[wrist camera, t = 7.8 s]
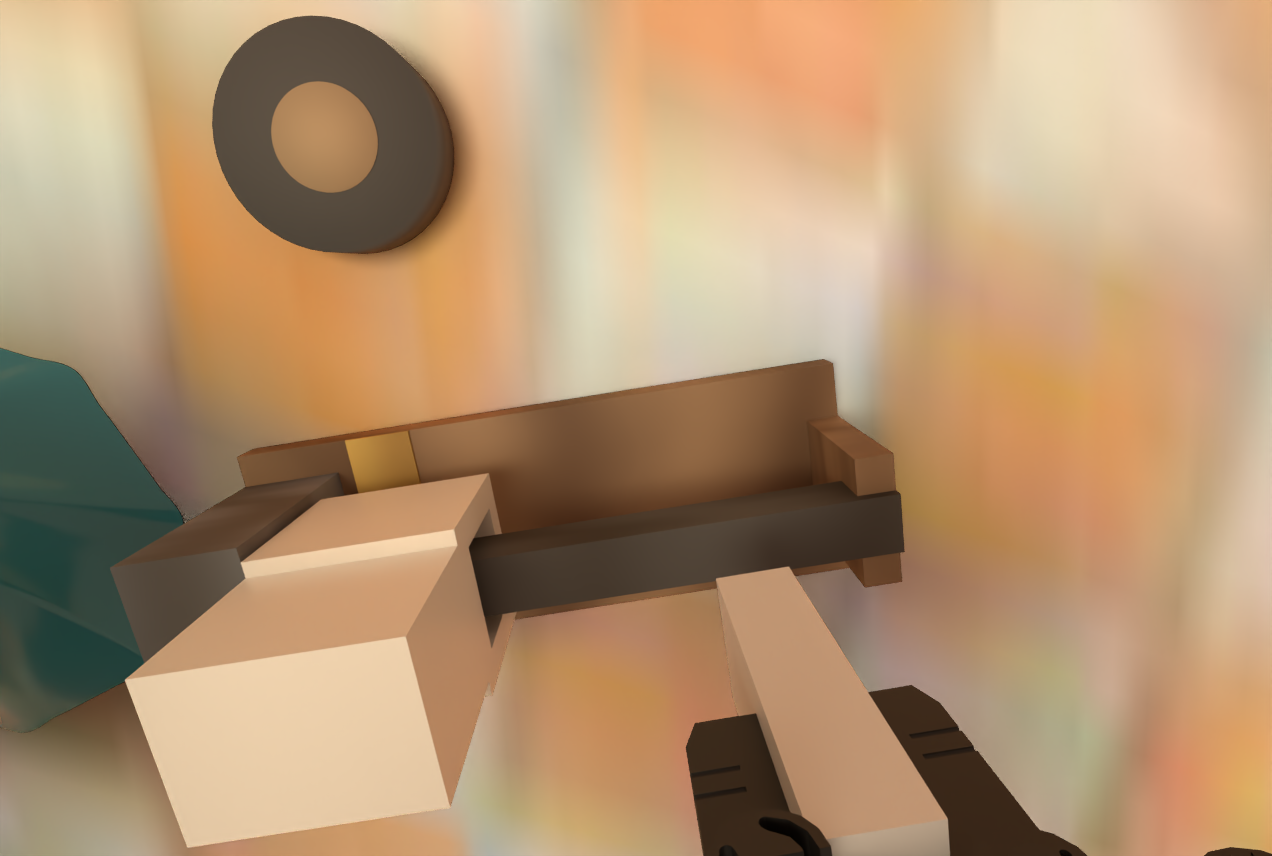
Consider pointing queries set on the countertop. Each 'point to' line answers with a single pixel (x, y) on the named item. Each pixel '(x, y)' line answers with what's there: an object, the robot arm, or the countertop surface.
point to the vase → (65, 542)
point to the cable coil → (331, 137)
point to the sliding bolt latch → (578, 498)
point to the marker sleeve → (331, 670)
